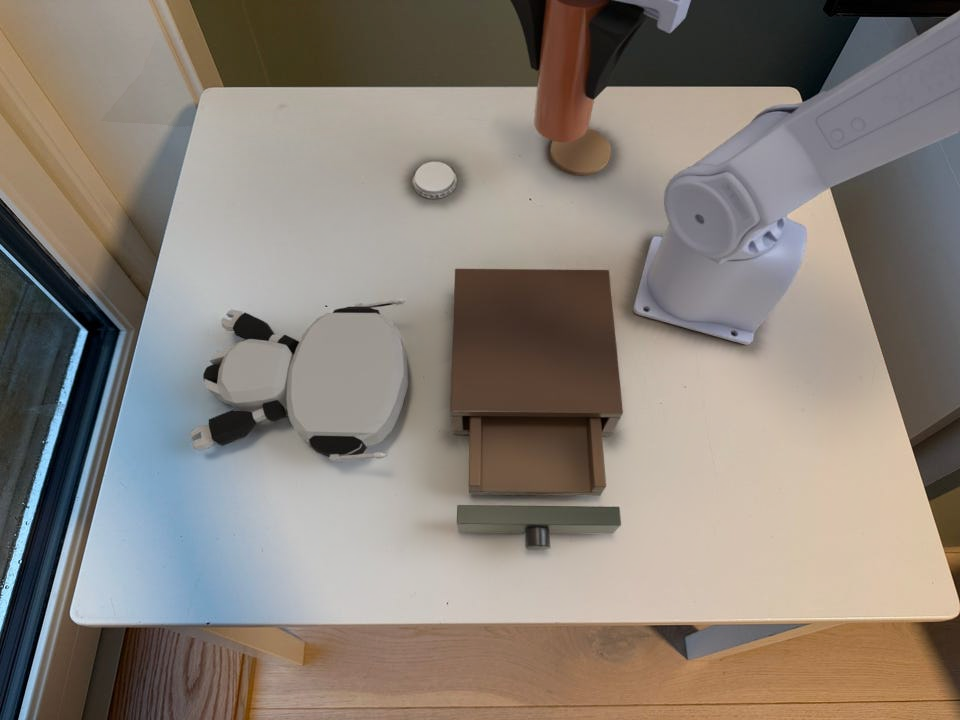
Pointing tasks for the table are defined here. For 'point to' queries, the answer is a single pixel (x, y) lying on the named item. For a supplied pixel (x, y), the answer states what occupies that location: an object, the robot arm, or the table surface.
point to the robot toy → (311, 381)
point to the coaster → (582, 154)
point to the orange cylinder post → (565, 69)
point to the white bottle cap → (434, 179)
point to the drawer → (536, 476)
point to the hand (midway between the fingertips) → (568, 76)
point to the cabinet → (534, 346)
